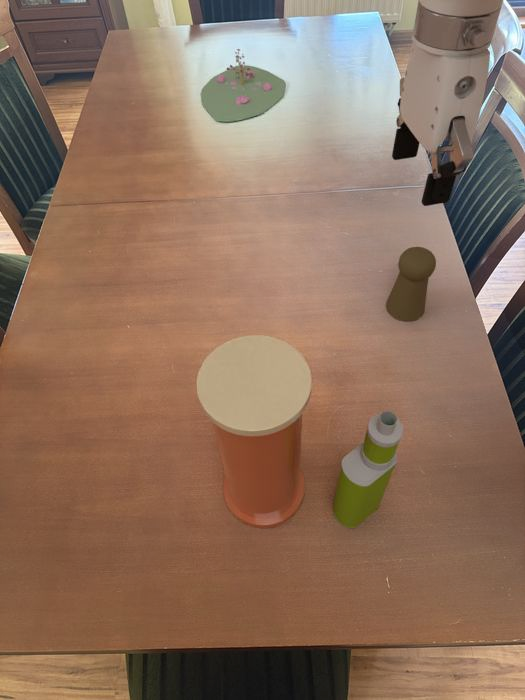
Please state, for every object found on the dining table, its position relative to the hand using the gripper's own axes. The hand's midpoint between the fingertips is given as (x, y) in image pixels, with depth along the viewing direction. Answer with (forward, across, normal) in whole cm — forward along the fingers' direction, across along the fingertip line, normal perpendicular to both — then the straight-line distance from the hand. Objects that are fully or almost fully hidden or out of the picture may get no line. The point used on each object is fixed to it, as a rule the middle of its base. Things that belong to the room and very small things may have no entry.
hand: (418, 179), depth 63 cm
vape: (+23, -30, +15) cm, 41 cm away
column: (+23, -25, +26) cm, 43 cm away
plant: (+23, +73, +11) cm, 77 cm away
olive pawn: (+23, -1, -2) cm, 23 cm away
